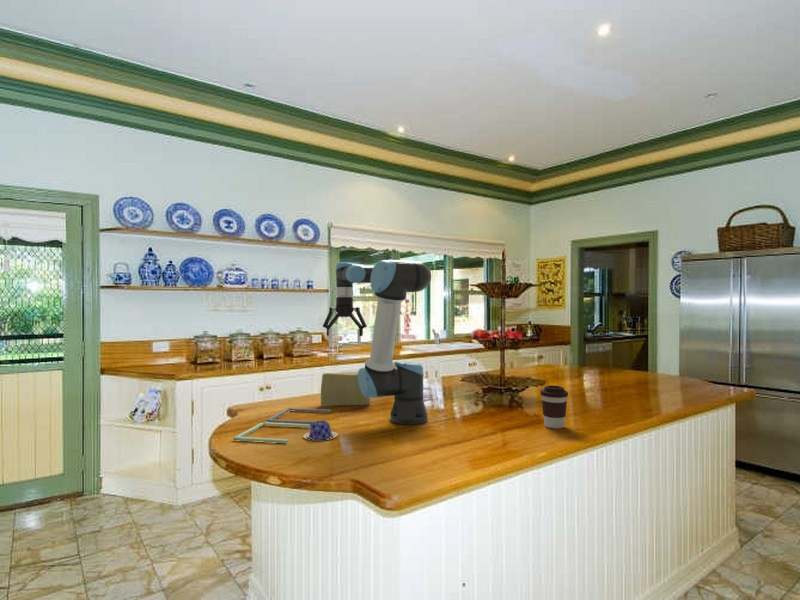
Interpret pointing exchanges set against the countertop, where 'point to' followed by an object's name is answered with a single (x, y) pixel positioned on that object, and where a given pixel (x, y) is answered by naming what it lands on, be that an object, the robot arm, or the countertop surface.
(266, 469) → the countertop surface
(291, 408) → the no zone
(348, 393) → the olive beige rectangular block
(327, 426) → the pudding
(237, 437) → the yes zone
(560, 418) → the coffee cup
